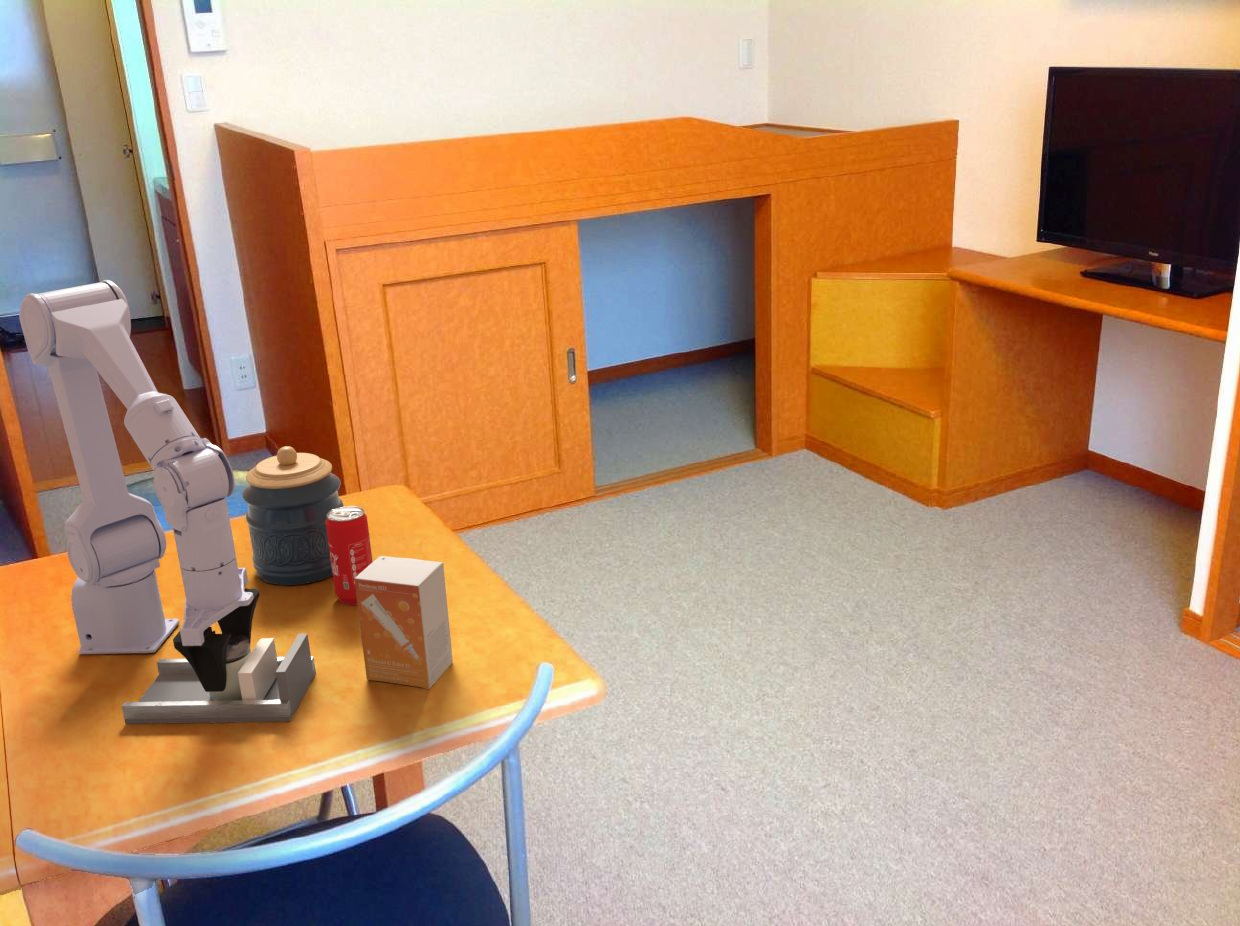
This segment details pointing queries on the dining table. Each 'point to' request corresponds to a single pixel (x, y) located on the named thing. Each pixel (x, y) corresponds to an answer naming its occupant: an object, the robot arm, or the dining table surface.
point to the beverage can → (348, 549)
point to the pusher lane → (188, 702)
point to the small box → (404, 621)
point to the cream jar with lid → (233, 668)
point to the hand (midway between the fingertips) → (227, 671)
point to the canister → (291, 516)
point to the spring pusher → (259, 670)
